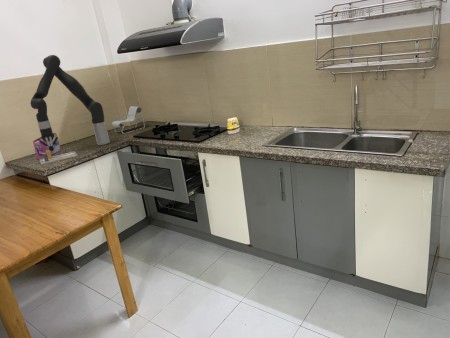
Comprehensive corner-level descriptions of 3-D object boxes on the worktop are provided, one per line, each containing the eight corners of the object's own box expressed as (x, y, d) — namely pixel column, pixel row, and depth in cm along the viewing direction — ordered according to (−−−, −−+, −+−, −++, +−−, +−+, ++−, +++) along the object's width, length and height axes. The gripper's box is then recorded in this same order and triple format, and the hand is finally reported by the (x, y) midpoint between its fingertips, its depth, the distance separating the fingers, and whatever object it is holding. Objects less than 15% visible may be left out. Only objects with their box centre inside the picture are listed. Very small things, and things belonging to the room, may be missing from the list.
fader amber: (51, 156, 254) (49, 149, 252) (51, 157, 251) (49, 150, 249) (47, 157, 253) (45, 150, 251) (48, 158, 250) (45, 151, 248)
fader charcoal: (48, 159, 247) (46, 152, 246) (48, 160, 244) (46, 153, 243) (44, 160, 246) (42, 153, 244) (45, 161, 243) (42, 154, 241)
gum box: (46, 158, 255) (41, 140, 251) (36, 159, 256) (30, 141, 251) (61, 149, 278) (56, 132, 273) (51, 150, 278) (46, 133, 274)
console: (74, 152, 263) (74, 150, 262) (77, 155, 253) (77, 153, 252) (39, 160, 252) (39, 158, 251) (41, 164, 242) (40, 162, 241)
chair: (145, 127, 320) (141, 106, 313) (121, 134, 304) (116, 112, 297) (138, 126, 329) (133, 105, 322) (113, 133, 313) (108, 111, 307)
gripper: (54, 124, 252) (61, 147, 258) (34, 128, 246) (41, 152, 252) (55, 126, 246) (62, 149, 251) (35, 130, 240) (42, 154, 245)
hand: (51, 150), depth 251 cm, fingers closed
